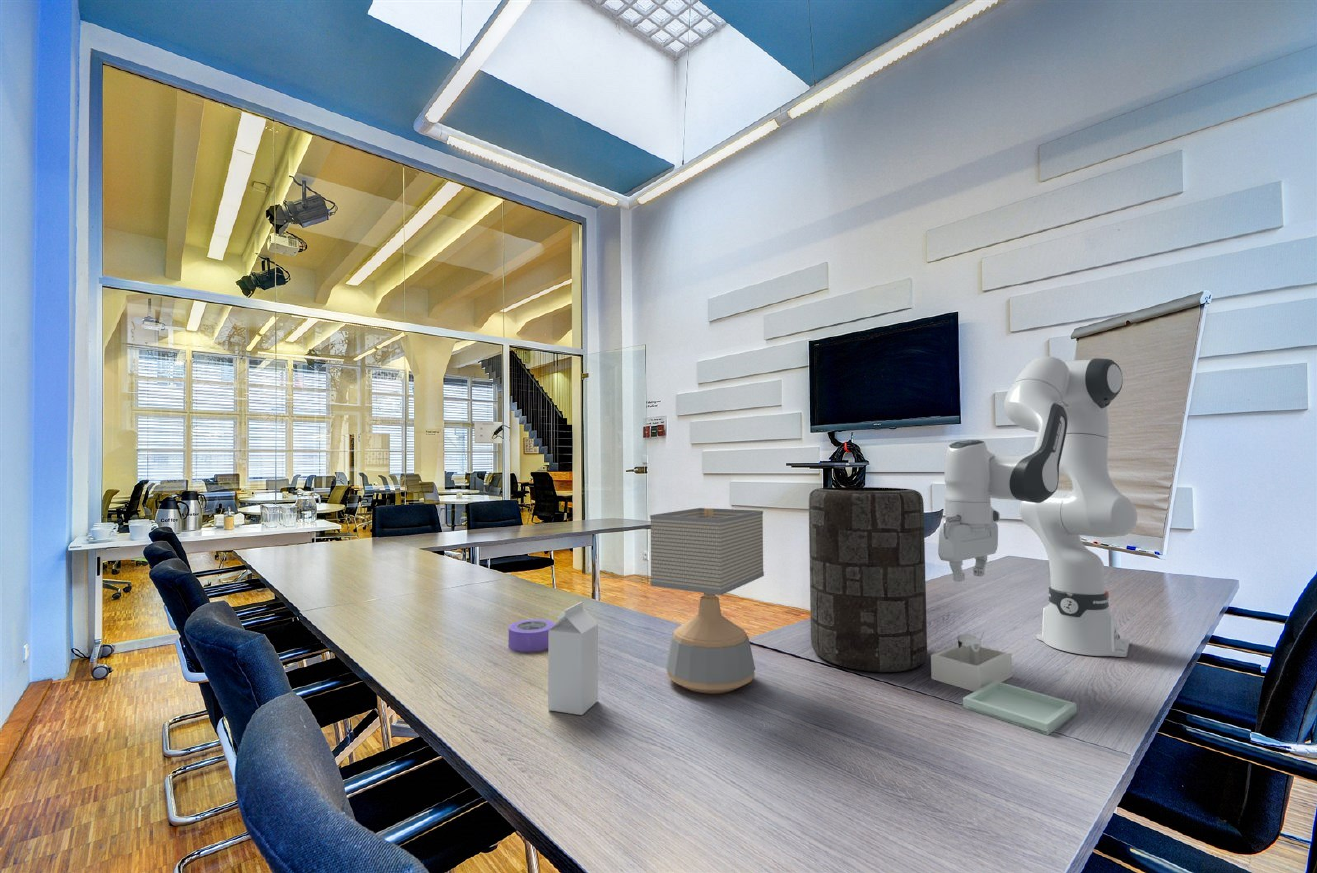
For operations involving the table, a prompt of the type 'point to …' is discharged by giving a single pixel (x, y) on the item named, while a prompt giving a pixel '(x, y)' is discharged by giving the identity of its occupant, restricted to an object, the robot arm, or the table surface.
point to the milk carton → (573, 662)
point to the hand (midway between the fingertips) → (969, 578)
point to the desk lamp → (708, 591)
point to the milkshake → (969, 648)
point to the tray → (1021, 707)
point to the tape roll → (529, 635)
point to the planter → (868, 577)
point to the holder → (971, 668)
